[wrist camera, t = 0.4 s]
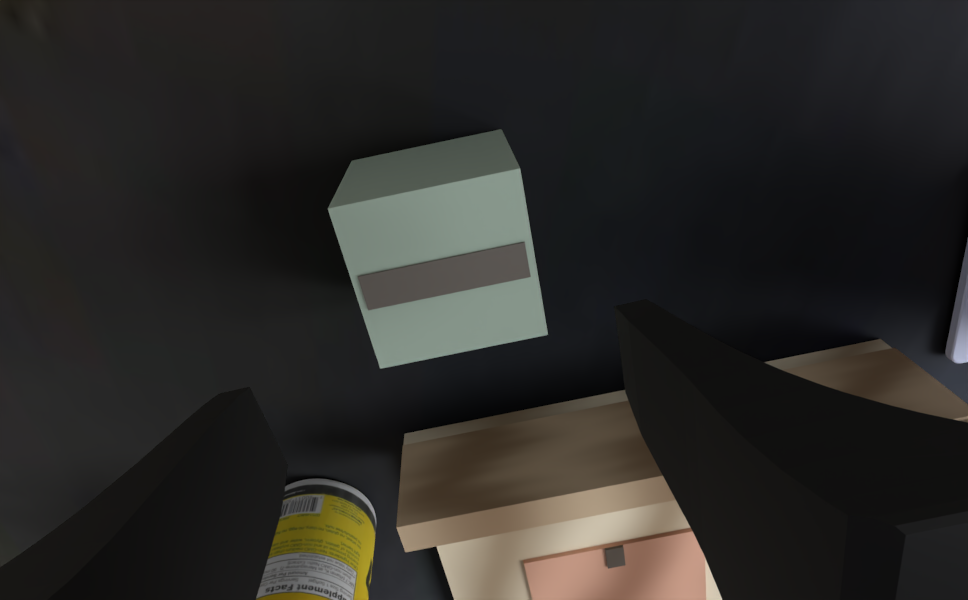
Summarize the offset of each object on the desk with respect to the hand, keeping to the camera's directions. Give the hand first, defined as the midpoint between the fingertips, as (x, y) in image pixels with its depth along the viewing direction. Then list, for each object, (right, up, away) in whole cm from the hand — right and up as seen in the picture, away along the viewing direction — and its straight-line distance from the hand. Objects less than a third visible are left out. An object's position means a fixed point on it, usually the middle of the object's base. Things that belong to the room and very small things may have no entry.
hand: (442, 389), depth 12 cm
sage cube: (-1, +5, +8) cm, 10 cm away
